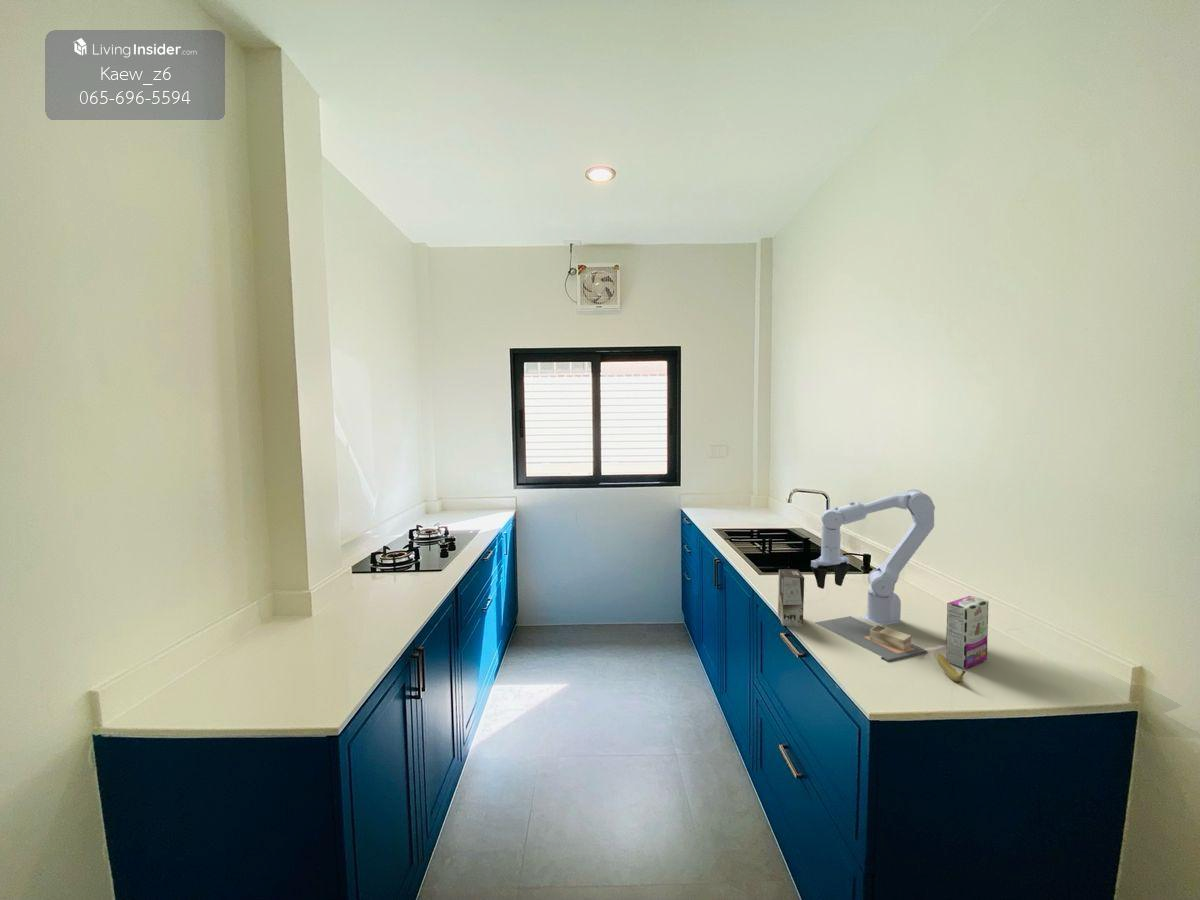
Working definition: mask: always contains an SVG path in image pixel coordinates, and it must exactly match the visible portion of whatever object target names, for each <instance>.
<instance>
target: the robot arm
mask: <svg viewBox="0 0 1200 900" xmlns="http://www.w3.org/2000/svg"><path fill="white" fill-rule="evenodd" d="M892 508H898V509H901V510H908V511H909V512H910V516H911V519H912V523H911V526H910V527H909V528H908V529H907V531H906V532H905V533H904V535H903V536H902V538H901V539H900V541H898V542H897V545H895V546H894V548H893V550H892V551H891V553H889V555H888V557H887V558H886V559H885V561H884V562H882V563H880V564H879V565H878V567H877V568H876V569H873V570H871V571H870V572H869V574H868V575H867V580H868V582H869V584H870V587H869V588H868V589H867V605H866V609H867V611H866V613H867V614H865V615H861V616H860V617H861V618H863V619H865V620H868V621H870V622H872V623H874V624H876V625H879V626H887V625H891V624H897V623H902V624H903V622H904V621H903V620H901V611H902V610H901V609H902V602H901V599H900V596H899V595H898V594H896V593H895V587H896V583H897V582H898V580H899V578H900V577H899V576H900V573H901V572H902V571H903V569H904V568H905V566H906V565H907V564H908V562H909V561H910V559H911V558H912V557H913V555H914V554H915V553H916V551H917V550H918V549H919V548H920V546H921V545H922V544H923V542H924V541H925V540H926V538H927V537H928V536H929V534H931V532H932V530H933V529H934V527H935V508H936V506H935V504H934V502H933V500H932V498H931V497H930V496H929V495H928V494H926V493H923V491H921V490H918V489H909V490H907V491H905V490H904V491H899V492H896V493H893V494H889V495H887V496H884V497H881V498H878V499H875V500H872V501H870V502H867V503H866V502H865V503H860V501H859V502H857V501H856V502H855V501H849V502H848V504H846V505H842V506H840V507H838V506H835V507H834V509H831V508H829V509H826V510H824V511H823V512H822V514H821V517H820V519H821V521H822V526H821V530H822V531H821V539H820V540H821V544H820V545H821V546H820V547H821V548H820V556H819V557H818V558H816V559H813V560H810V569H811V571H812V572H813V574H814V578H815V581H816V585H817V588H819V589H821V590H823V589H825V586H826V585H825V584H826V576H827V574H828V571H829V570H828V569H827V568H825V567H826V566H833V571H834V573H833V574H834V584H835V585H836V586H839V587H842V586H843V583H844V579H845V577H846V574H847V573H848V571H849V570H850V568H851V565H850V557H848V556H841V533H842V532H841V526H842V525H848V524H851V523H854V522H855V523H856V522H858V521H862V520H865V519H866V517H867V515H868V514H872V513H875V512H879V511H885V510H889V509H892Z"/></svg>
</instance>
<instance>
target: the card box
mask: <svg viewBox="0 0 1200 900" xmlns="http://www.w3.org/2000/svg"><path fill="white" fill-rule="evenodd" d="M870 640H872V641H875V642H878V643H882V644H885V645H888V646H891V647H894V648H897V649H900V650H903V651H904V650H906V649H907V648H909V647H910V646H911V644H912V635H911V634H908V633H905V632H901V631H898V630H895V629H892V628H888V627H886V626H883V625H879V624H876V626H874V628H872V629H870Z"/></svg>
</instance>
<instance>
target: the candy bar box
mask: <svg viewBox="0 0 1200 900" xmlns="http://www.w3.org/2000/svg"><path fill="white" fill-rule="evenodd" d="M946 604H947V605H946V606H947V608H946V609H947V610H946V614H947V615H946V632H947V641H946V653H945V654H946V656H945V658H946V659H947V661H948V662H949V663H950V665H951V666H956V667H958V668H961V669H963V670H967V669H970V668H973V667H974V666H977V665H980V663H983V662H985V661H988V636H989V635H988V633H989V632H988V631H989V630H988V629H989V600H986V599H983V598H981V597H980V598H979V597H975V596H972V595H968V596H965V597H961V598H959V599H955V600H952V601H949V602H947V603H946Z"/></svg>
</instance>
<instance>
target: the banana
mask: <svg viewBox="0 0 1200 900" xmlns="http://www.w3.org/2000/svg"><path fill="white" fill-rule="evenodd" d="M935 656H936V661H937V663H938V665H939V666H940V668H941V669H942V670H943V672H944V673H945V674H946V675H947V677H948V678H950V679H951V680H953V681H954V682H956V683H960V682H962V681H963V679H964V675H965V674H966V673H967V672H966V669H963V670H961V671H962V672H961V673H959V672H958V671H957V670H956V669H955V667H953V665H952V664H950V663H949V662H948V661H947V659H946V656H944V655H943V654H941V653H939V652H937V653H936V655H935Z"/></svg>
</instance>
